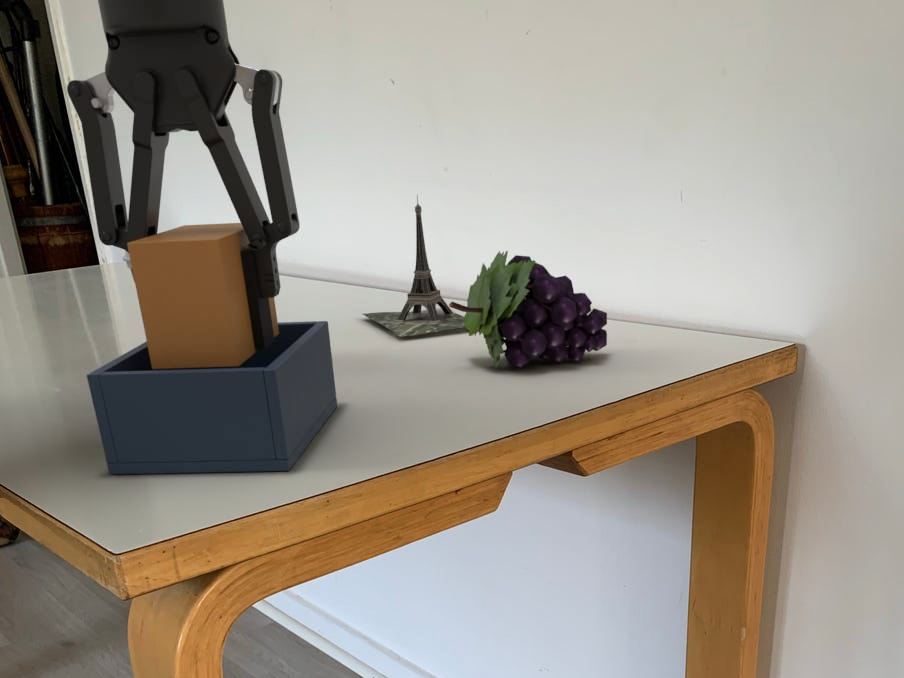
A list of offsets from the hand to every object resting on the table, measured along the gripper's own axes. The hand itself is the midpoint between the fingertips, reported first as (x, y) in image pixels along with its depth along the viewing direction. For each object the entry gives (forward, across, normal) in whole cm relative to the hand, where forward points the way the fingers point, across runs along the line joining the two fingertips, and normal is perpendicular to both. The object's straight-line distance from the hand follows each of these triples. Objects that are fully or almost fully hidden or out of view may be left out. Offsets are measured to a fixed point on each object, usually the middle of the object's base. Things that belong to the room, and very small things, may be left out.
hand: (219, 346), depth 71 cm
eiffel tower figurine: (+7, -9, -43) cm, 44 cm away
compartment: (+7, 0, 0) cm, 7 cm away
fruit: (+7, -22, -22) cm, 32 cm away
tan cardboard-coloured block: (0, 0, 0) cm, 0 cm away
